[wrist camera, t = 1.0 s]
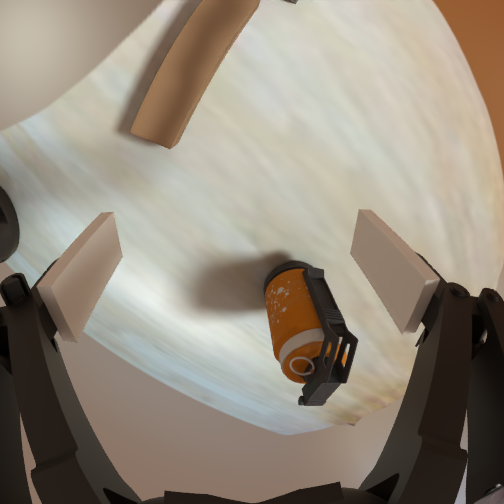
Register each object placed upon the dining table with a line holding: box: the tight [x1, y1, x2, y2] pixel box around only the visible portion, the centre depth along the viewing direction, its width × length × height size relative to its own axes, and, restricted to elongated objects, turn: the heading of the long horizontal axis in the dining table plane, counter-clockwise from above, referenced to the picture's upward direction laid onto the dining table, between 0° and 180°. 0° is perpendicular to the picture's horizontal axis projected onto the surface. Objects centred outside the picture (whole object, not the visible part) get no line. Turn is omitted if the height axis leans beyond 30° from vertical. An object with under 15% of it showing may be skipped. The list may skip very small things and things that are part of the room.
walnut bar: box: [130, 0, 260, 149], centre depth 24 cm, size 5×20×5 cm, turn 151°
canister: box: [264, 262, 358, 406], centre depth 33 cm, size 9×11×20 cm
